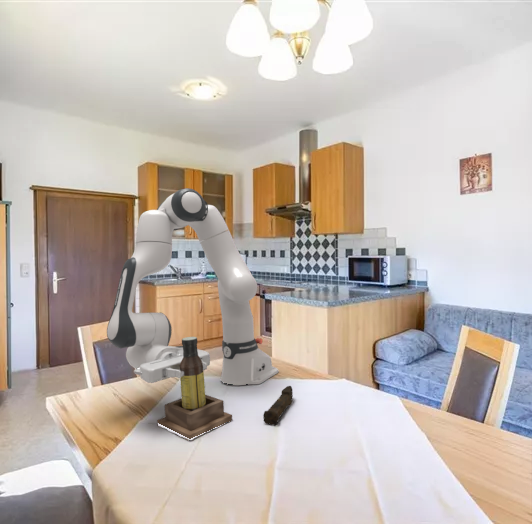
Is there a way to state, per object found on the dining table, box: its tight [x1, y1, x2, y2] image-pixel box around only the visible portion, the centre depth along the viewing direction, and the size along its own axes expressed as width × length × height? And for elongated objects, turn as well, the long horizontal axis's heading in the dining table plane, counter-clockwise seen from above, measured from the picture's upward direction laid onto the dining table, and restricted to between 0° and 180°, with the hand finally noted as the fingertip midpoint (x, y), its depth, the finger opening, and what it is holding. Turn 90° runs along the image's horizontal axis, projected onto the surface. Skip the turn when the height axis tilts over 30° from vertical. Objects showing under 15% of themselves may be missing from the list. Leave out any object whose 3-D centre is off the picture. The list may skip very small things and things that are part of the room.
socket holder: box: [156, 394, 233, 439], centre depth 99 cm, size 14×14×6 cm
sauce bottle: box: [179, 336, 206, 411], centre depth 99 cm, size 6×6×20 cm
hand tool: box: [262, 385, 294, 426], centre depth 105 cm, size 19×4×5 cm, turn 157°
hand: (193, 370), depth 98 cm, fingers closed on sauce bottle, 6 cm apart
